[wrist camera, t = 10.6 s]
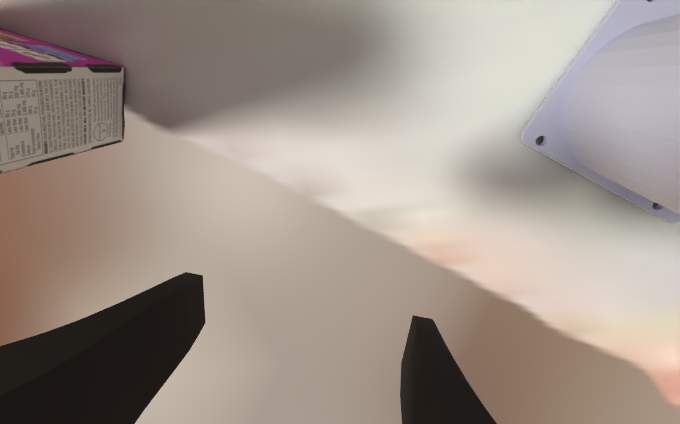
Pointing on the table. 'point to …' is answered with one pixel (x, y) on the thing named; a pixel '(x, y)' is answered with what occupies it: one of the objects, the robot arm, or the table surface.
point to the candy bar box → (55, 102)
